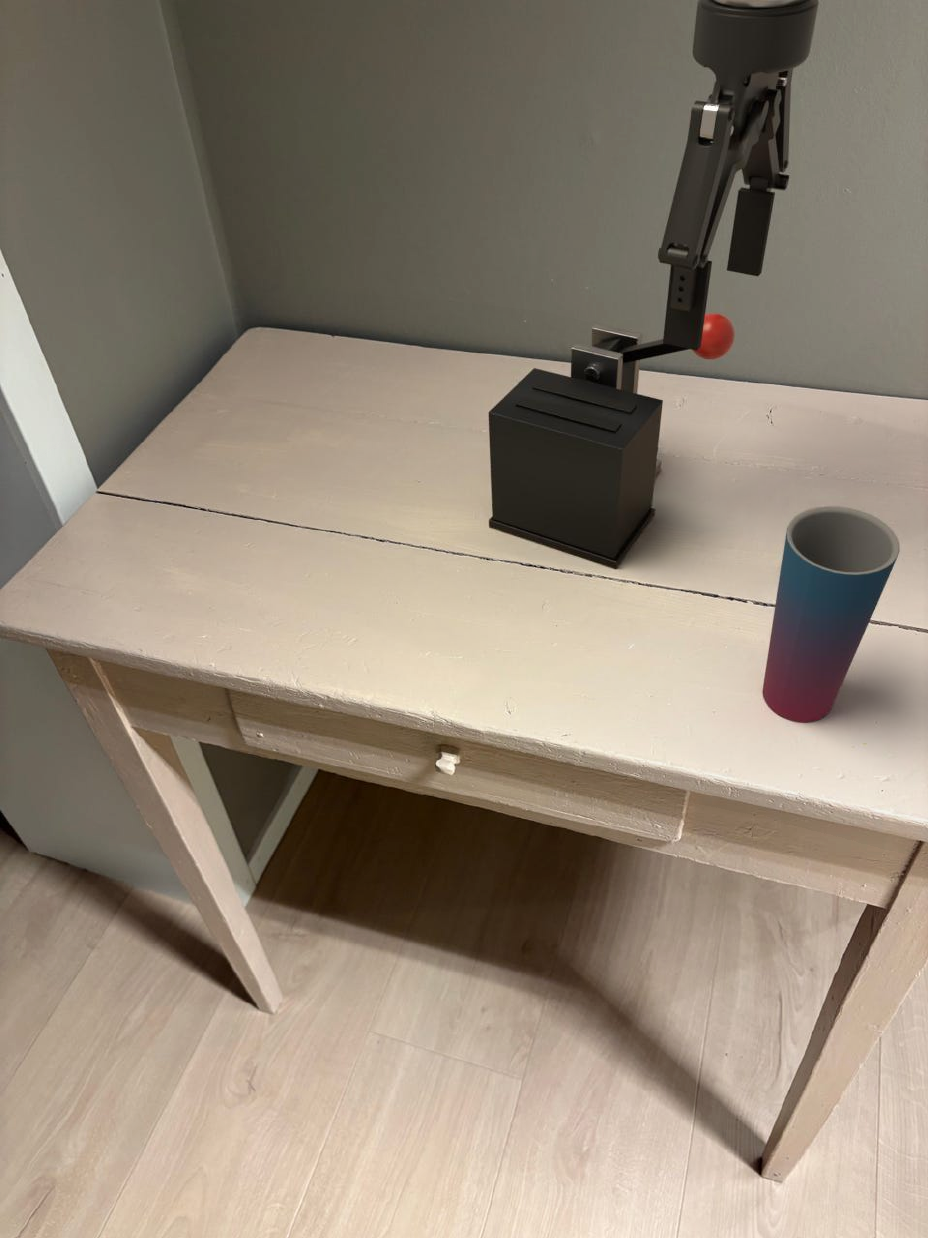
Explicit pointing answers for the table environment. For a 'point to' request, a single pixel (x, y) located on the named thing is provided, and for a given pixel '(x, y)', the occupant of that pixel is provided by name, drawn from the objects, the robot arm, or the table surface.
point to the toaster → (574, 465)
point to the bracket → (607, 362)
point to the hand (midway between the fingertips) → (714, 306)
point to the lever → (713, 346)
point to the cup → (824, 606)
